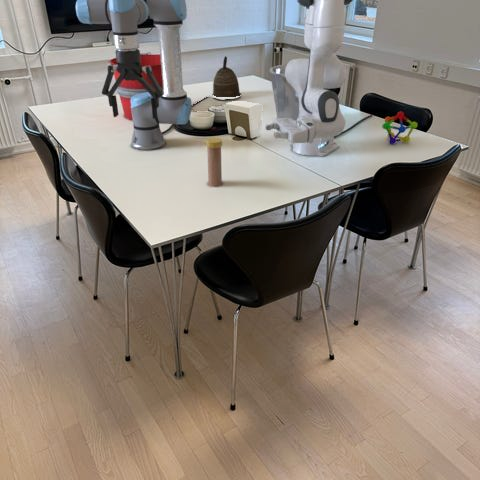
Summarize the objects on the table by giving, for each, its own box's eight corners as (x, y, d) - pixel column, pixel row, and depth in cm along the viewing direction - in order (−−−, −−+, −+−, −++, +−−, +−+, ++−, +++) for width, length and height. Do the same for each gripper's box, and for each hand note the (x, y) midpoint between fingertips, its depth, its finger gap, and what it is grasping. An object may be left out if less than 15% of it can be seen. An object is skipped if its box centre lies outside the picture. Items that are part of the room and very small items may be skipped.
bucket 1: (123, 105, 263) (116, 51, 247) (182, 106, 262) (179, 52, 247) (107, 123, 234) (97, 63, 218) (173, 124, 233) (168, 64, 217)
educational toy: (377, 146, 209) (379, 114, 202) (384, 138, 219) (386, 107, 211) (411, 149, 202) (415, 116, 195) (417, 141, 212) (420, 109, 204)
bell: (227, 105, 294) (202, 96, 282) (238, 66, 289) (213, 55, 277) (243, 108, 280) (217, 98, 268) (255, 66, 275) (229, 55, 263)
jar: (223, 185, 170) (223, 142, 161) (211, 187, 168) (209, 144, 159) (218, 180, 174) (217, 138, 165) (206, 182, 172) (205, 139, 163)
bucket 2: (296, 138, 215) (301, 78, 201) (255, 124, 234) (256, 68, 219) (335, 125, 232) (342, 70, 217) (294, 113, 251) (297, 61, 236)
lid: (224, 146, 161) (224, 141, 160) (209, 149, 159) (209, 143, 158) (218, 141, 166) (218, 136, 165) (203, 143, 164) (203, 138, 163)
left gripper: (84, 50, 136) (95, 118, 148) (163, 52, 134) (168, 121, 145) (93, 46, 143) (104, 112, 154) (169, 48, 140) (174, 114, 152)
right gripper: (294, 112, 177) (261, 115, 173) (315, 128, 160) (279, 131, 157) (293, 128, 180) (261, 131, 177) (314, 144, 163) (279, 148, 160)
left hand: (135, 116), depth 150 cm, fingers open, 13 cm apart
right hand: (270, 131), depth 167 cm, fingers open, 8 cm apart
